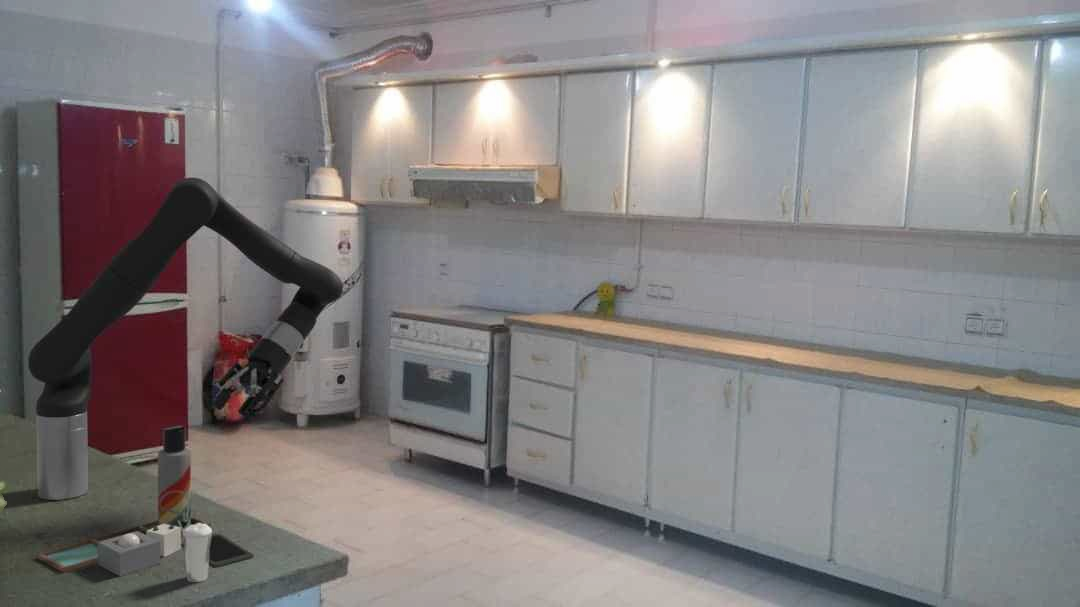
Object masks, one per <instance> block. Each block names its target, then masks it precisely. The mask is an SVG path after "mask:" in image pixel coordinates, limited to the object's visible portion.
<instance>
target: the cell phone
mask: <svg viewBox="0 0 1080 607" xmlns="http://www.w3.org/2000/svg"><path fill="white" fill-rule="evenodd" d="M181 546H183V547H184V542H182V541H181ZM253 558H254V554H253V553H252V552H250V551H248V550H247V549H245V548H243V547H242V546H240V545H239V544H237V543H236V542H234V541H232V540H231V539H229V538H228V537H226V535H225V536H224V535H223V534H221V533H212V537H211V545H210V554H209V565H210V566H212V567H214V568H221V567H225V566H229V565H233V564H236V563H240V562H243V561H247V560H250V559H251V560H252V559H253Z"/></svg>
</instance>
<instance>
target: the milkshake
mask: <svg viewBox="0 0 1080 607" xmlns="http://www.w3.org/2000/svg"><path fill="white" fill-rule="evenodd" d="M178 522H179V525H180V527H181V529H182V531H183V537H182V540H183V542H184V546H183V548H184V556H185V569H186V581H187V582H190V583H201V582H203V581H206V580H207V579H208V577H209V567H210V566H209V565H210V564H209V554H210V545H211V537H212V535H213V530H212V528H210V527H209V526H208V525H207V524H202V523H197V524H196V523H194V524H190V526H189V527H187V528H186V529H185V530H183V528H182V526H181V523H180V521H179V520H178Z"/></svg>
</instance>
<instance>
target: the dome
mask: <svg viewBox="0 0 1080 607" xmlns="http://www.w3.org/2000/svg"><path fill="white" fill-rule="evenodd" d="M121 536H122V535H121ZM136 544H140V540H139V538H138V536H136V535H135V534H129V533H128V534H125V535H124V536H122V537H121V538H120V540H119V542H118V546H121V547H123V548H126V547H130V546H133V545H136Z"/></svg>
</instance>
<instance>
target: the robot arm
mask: <svg viewBox="0 0 1080 607" xmlns="http://www.w3.org/2000/svg"><path fill="white" fill-rule="evenodd" d="M203 227H206V228H208V229H210V230H212V231H213V232H215V233H216V234H218V235H220V236H221V237H223V238H224V239H226V240H227V241H228V242H229V243H231V244H232V245H233V246H234V247H235V248H236V249H238V250H239V251H240V252H241V253H242V254H243V255H244V256H245V257H246V258H247V259H248V260H250V262H252V263H253V264H254V265H256V266H257V267H259V269H261V270H262V271H264V272H265V273H267V274H269V275H270V276H272V277H274V278H275V279H276V280H278V281H279V282H281V283H284V284H286V285H287V284H294V285H296V286H297V287H299V288H298V290H297V291H296V292H295V294H294V296H293V298H292V300H291V302H290V303H289V305H288V306H287V307H286V308H285V309H284V310H283V312H282V313H281V314H280V316H279V317H278V318H277V319H276V321H275V322H274V323H273V324H271V325H270V327H269V328H268V329H267V330H266V331H265V332H264V334H263V335H262V336H261V338H260V339H259V340H258V341H257V342H256V344H255V346H253V348H252V349H251V350H250V352H249V353H248V358H249V360H248V362H247V363H246V364H244V365H242V364H241V363H239V362H237V361H236V362H235V363H234V364H233V365H232V366H231V368H230V369H229V370H228V371H227V372H226V373H225V375H224V376H223V377H222V378H221V379H220V381H219V382H218V386H220V388H221V390H220V392H219V393H218V394H217V395H216V397H215V398H214V400H213V401H212V402H211V406H212V407H214V408H215V410H217V411H222V409H223V408H224V407H225V405H226V404H227V403H228V402H229V400H230V399H232V398H231V397H232V395H235V394H236V393H238V392H243V391H245V390H250V396H248V397H247V398H246V399H245V401H244V402H243V403H242V405H241V406H240V407H239V409H238V411H237V413H238V414H239V415H240V417H242V418H245V419H247V418H248V417H249V416H250V415H251V414H252V412H253V411H254V410H255V408H256V407H257V406H258V405H259V404H261V403H263V402H265V403H270V401H271V400H272V399H273V397H274V395H275V394H276V393H277V391H278V390H279V388H280V386H281V385H282V384H283V383H284V380H285V379H284V377H283V376H282V375H281V374H282V373H283V372H284V370H285V369H286V367H287V366H288V365H289V363H290V362H291V361H292V359H293V358H294V357H295V355H296V354H297V353H298V351H299V350H300V348H301V346H302V344H303V343H304V341H305V340H306V339H307V338H308V336H309V335H310V333H311V332H312V330H313V329H314V328H315V326H316V323H317V318H318V317H319V316H320V314H321V313H322V312H323V310H324V309H325V308H326V307H327V306H328V305H330V304H331V303H333V302H335V301H337V300H338V299H339V298H340V297H341V295H342V294H343V291H344V286H343V285H344V284H343V282H342V279H341V278H340V277H339V275H338V274H336V273H335V272H334V271H333V270H332V269H330V268H328V267H326V266H325V265H322V264H320V263H319V262H316V261H314V260H312V259H309V258H307V257H304V256H302V255H301V254H299V253H298V252H297V251H295V250H294V249H293V248H291V247H290V246H288V245H287V244H285V243H284V242H282V241H281V240H280V239H277V238H276V237H275V236H273V235H272V234H270V233H269V232H267V231H266V230H265V229H263V228H261V227H260V226H259V225H257V224H256V223H254V222H253V221H251V220H250V219H249V218H248V217H246V216H245V215H244V214H242V213H241V212H240V211H239V210H238V209H237V208H235V207H234V206H233V205H232V204H230V203H229V202H228V201H227V200H226V199H225V198H224V197H223V196H222V195H221V194H220V193H219V192H218V191H217V190H216V189H214V187H213V186H212V185H211V184H210V183H208V182H207V181H206V180H204V179H202V178H199V177H198V178H197V177H186V178H185V177H184V178H183V179H180V180H179V181H177V182H176V183H175V184H174V185H173V187H172V188H171V189H170V191H169V192H168V194H167V196H166V197H165V199H164V201H163V203H162V204H161V205H160V207H159V209H158V210H157V212H156V213H155V215H154V216H153V217H152V219H151V220H150V221H149V223H148V224H147V225H146V227H145V228H144V229H143V230H142V231H141V232H140V233H139V234H138V235H136V236H135V237H134V238H133V239H131V240H130V241H129V242H128V243H127V244H125V246H123V247H122V248H121V249H120V250H119V251H118V252H117V253H116V254H115V255H114V256H113V257H112V258H110V260H109V262H108V263H107V264H105V266H104V267H103V269H102V270H101V271H100V272H99V273H98V275H97V276H96V277H95V278H94V280H93V281H92V282H91V283H90V285H89V286H88V287H87V288H86V289H85V291H84V292H83V294H82V295H80V297H79V298H78V299H77V301H76V302H75V304H74V305H73V306H72V307H71V309H70V311H69V312H68V313H67V314H65V316H64V317H63V318H62V319H61V320H60V321H59V322H58V323H57V324H56V325H55V326H54V327H53V328H52V329H50V331H49V332H48V333H46V334H45V335H44V336H43V337H42V338H41V339H40V340H39V341H38V342H37V343H35V345H34V346H32V349H31V350H30V353H29V355H28V361H27V365H28V369H29V370H28V371H29V372H30V374H31V376H32V377H33V378H34V379H36V380H38V381H40V382H41V383H44V387H43V390H42V392H41V394H40V395H39V397H38V398H37V400H36V405H35V407H36V408H35V409H36V410H35V412H36V419H35V420H36V421H35V422H36V479H37V480H36V481H37V482H36V484H37V496H38V497H39V498H40V499H42V500H48V501H49V500H50V501H54V500H55V501H57V500H59V501H60V500H67V499H68V500H69V499H73V498H77V497H81V496H83V495H85V494H87V492H89V491H88V490H89V469H88V468H89V466H88V464H89V463H88V460H89V458H88V457H89V456H88V453H89V450H88V448H89V446H88V402H89V399H90V397H91V391H92V370H93V369H92V368H93V365H92V363H93V361H92V352H91V348H90V347H91V345H92V344H93V343H94V342H95V341H96V340H97V339H98V338H99V337H100V336H101V335H103V333H104V332H105V331H106V330H108V329H109V328H110V327H112V326H113V325H114V324H115V323H118V321H119V320H120V319H122V318H124V316H126V315H127V314H128V313H129V312H130V311H131V310H133V309H134V308H135V306H137V305H138V304H139V303H140V301H141V300H142V299H143V298H144V297H145V296H146V294H148V292H149V290H151V288H152V287H153V286H154V284H155V283H156V282H157V280H158V279H159V278H160V277H161V275H162V274H163V272H164V271H165V269H166V268H167V266H168V265H169V263H170V261H171V260H172V258H173V257H174V256H175V254H177V252H178V250H180V248H182V247H183V245H184V244H185V243H187V241H189V239H191V238H192V237H193V236H194V235H195V234H196V233H197V232H198V231H199V230H200V229H202V228H203ZM228 380H229V381H228ZM268 391H269V392H268ZM267 392H268V393H267Z"/></svg>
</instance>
